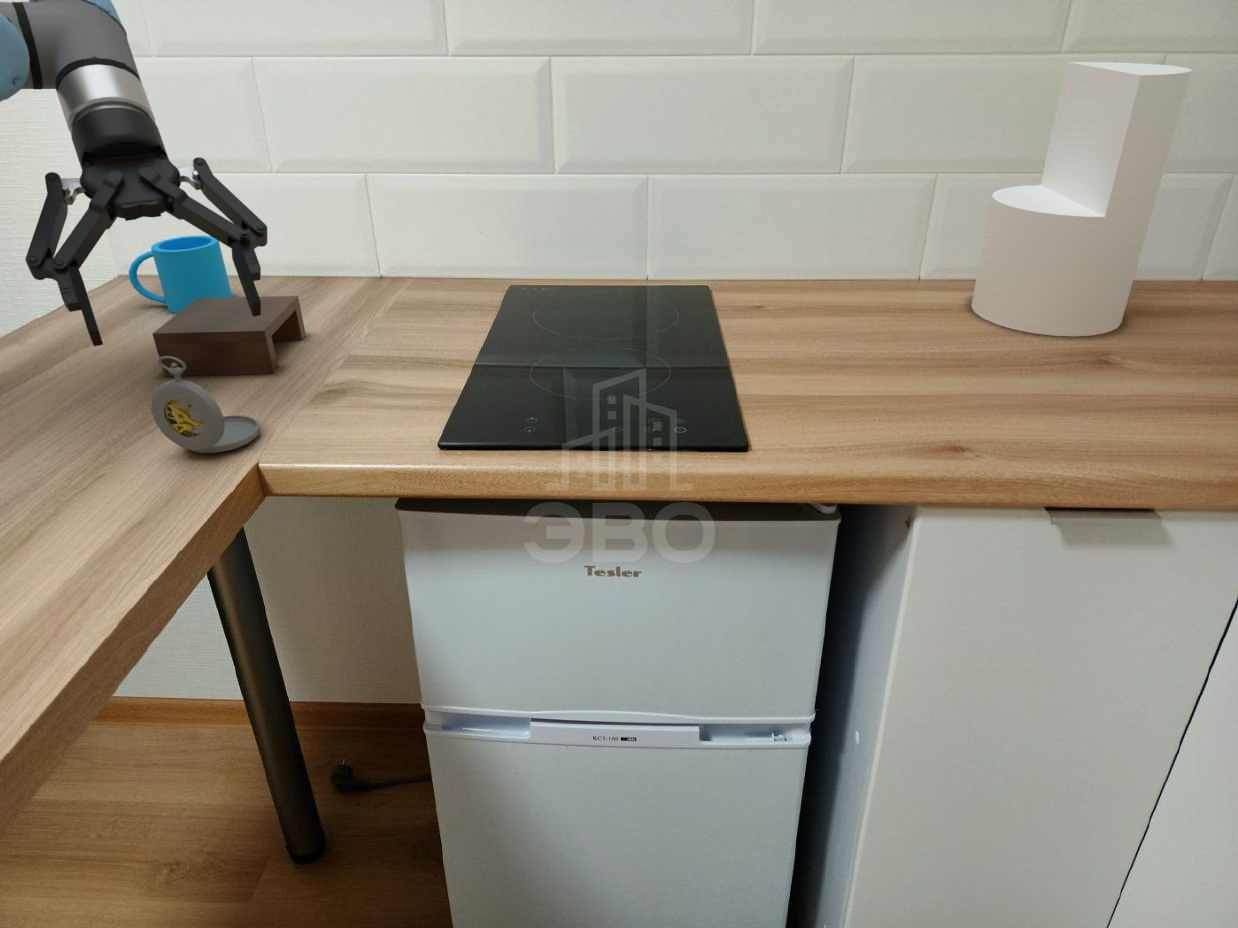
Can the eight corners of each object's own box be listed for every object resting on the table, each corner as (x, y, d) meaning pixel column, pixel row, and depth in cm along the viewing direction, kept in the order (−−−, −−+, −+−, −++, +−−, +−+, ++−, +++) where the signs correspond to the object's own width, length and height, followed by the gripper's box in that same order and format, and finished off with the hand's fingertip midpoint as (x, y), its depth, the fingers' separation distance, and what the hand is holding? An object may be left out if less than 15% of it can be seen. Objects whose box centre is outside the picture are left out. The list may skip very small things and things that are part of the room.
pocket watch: (260, 419, 84) (236, 322, 80) (262, 457, 78) (236, 354, 73) (169, 434, 82) (139, 335, 77) (162, 475, 75) (129, 369, 70)
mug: (238, 292, 121) (224, 233, 117) (226, 310, 114) (211, 249, 110) (146, 299, 119) (129, 239, 115) (129, 318, 112) (110, 256, 108)
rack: (164, 376, 94) (151, 333, 92) (207, 337, 105) (197, 298, 102) (274, 373, 95) (264, 330, 92) (306, 335, 105) (298, 295, 103)
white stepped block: (1082, 290, 115) (1140, 61, 102) (1149, 335, 100) (1227, 73, 87) (952, 291, 116) (993, 63, 102) (999, 337, 101) (1054, 76, 87)
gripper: (250, 142, 91) (314, 316, 88) (-29, 170, 80) (31, 371, 76) (249, 92, 85) (318, 278, 81) (-55, 115, 74) (9, 332, 70)
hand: (179, 323), depth 79 cm, fingers open, 13 cm apart
